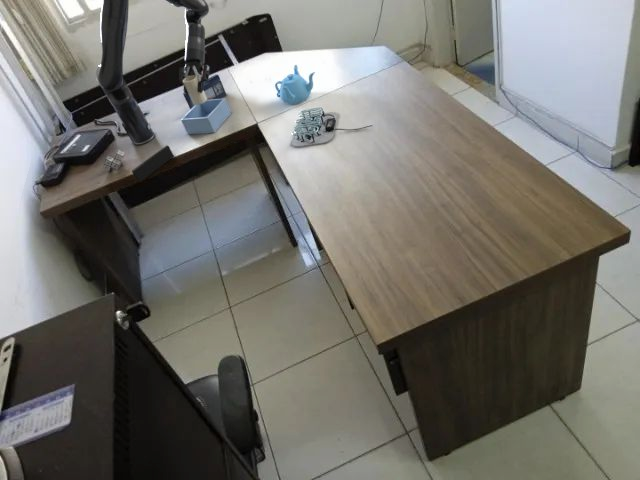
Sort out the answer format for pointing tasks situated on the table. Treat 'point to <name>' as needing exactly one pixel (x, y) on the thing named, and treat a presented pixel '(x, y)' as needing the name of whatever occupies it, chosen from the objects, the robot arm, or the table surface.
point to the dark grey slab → (153, 163)
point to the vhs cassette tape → (210, 90)
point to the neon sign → (315, 128)
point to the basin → (206, 116)
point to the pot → (194, 90)
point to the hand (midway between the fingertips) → (193, 92)
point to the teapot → (294, 88)
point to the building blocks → (113, 161)
